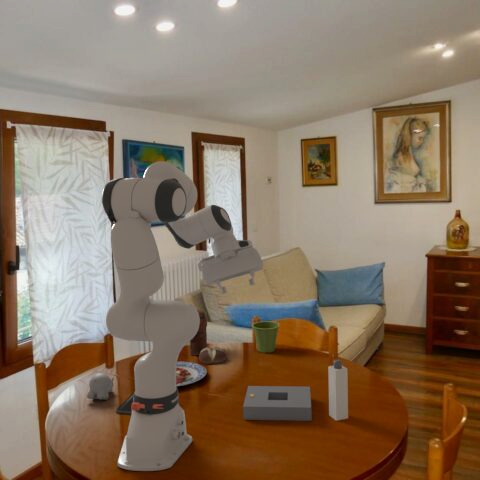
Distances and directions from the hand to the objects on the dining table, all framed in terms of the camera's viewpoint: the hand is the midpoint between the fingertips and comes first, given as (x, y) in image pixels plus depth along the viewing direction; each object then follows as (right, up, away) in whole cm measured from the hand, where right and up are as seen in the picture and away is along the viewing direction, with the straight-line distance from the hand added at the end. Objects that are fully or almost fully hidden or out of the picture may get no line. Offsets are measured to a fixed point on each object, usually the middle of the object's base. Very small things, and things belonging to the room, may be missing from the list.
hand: (238, 288), depth 161 cm
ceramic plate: (-25, -36, +24) cm, 49 cm away
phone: (-33, -38, +2) cm, 50 cm away
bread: (-10, -33, +43) cm, 56 cm away
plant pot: (+12, -32, +53) cm, 63 cm away
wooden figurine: (-17, -32, +54) cm, 65 cm away
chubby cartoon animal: (-45, -38, +8) cm, 60 cm away
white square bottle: (+30, -37, -12) cm, 49 cm away
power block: (+12, -37, -6) cm, 39 cm away
